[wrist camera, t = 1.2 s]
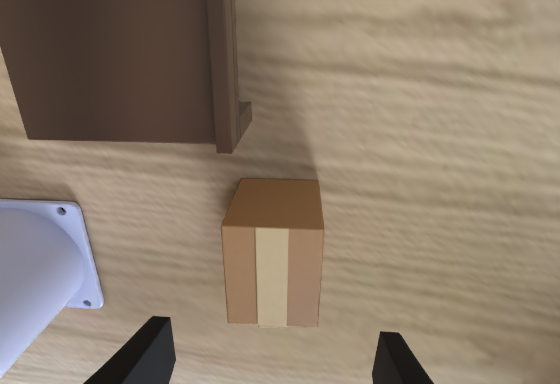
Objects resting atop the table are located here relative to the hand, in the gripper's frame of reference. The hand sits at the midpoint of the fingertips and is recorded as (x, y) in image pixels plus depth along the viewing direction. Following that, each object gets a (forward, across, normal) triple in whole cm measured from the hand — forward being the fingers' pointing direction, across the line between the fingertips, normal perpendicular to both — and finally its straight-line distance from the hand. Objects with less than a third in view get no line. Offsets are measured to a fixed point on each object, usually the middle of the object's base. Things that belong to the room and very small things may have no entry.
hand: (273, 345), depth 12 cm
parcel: (+10, 0, 0) cm, 10 cm away
